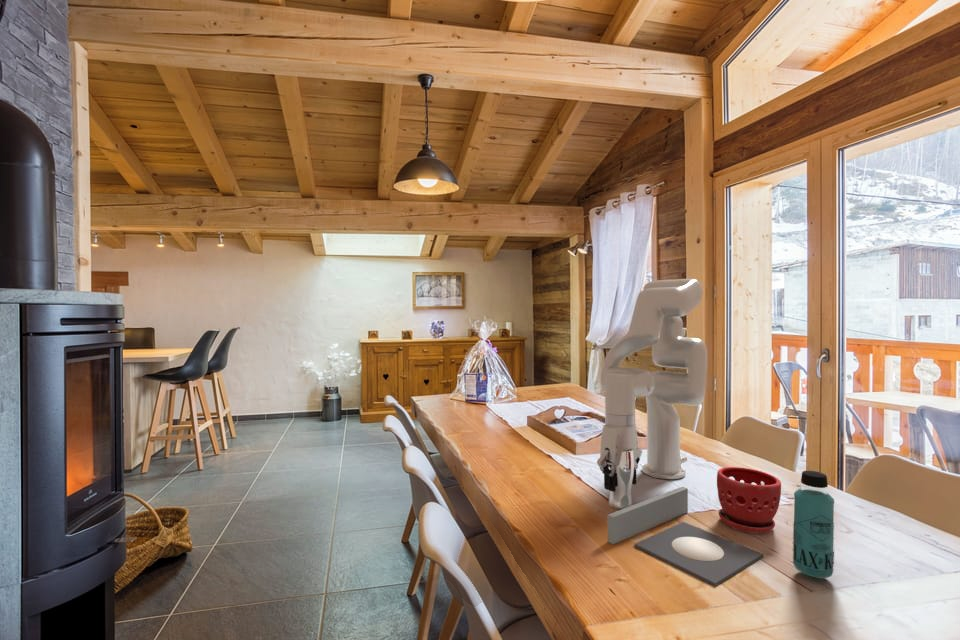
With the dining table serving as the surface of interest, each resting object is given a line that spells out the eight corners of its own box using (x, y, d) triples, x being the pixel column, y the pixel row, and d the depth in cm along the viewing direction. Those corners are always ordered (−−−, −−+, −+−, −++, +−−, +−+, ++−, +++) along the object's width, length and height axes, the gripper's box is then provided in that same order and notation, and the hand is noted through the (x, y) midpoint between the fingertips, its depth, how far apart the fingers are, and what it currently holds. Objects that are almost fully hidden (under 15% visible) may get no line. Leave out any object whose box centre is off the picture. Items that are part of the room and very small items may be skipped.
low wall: (682, 510, 120) (682, 486, 120) (687, 512, 119) (687, 488, 119) (607, 541, 105) (607, 514, 104) (613, 544, 103) (613, 517, 103)
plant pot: (758, 543, 103) (758, 489, 102) (705, 520, 114) (704, 471, 114) (793, 530, 109) (793, 478, 109) (739, 509, 120) (739, 462, 120)
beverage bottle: (784, 568, 93) (784, 467, 92) (816, 566, 94) (816, 466, 93) (810, 588, 86) (810, 479, 86) (844, 585, 87) (844, 478, 87)
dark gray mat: (683, 524, 112) (683, 521, 112) (763, 556, 97) (763, 553, 97) (634, 546, 102) (634, 543, 102) (715, 586, 87) (715, 582, 87)
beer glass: (636, 511, 120) (635, 452, 119) (607, 509, 121) (607, 451, 121) (632, 500, 127) (632, 444, 126) (606, 498, 128) (605, 443, 128)
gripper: (629, 412, 131) (630, 475, 132) (585, 421, 122) (586, 489, 122) (653, 417, 125) (653, 483, 126) (608, 427, 115) (609, 499, 116)
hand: (620, 486), depth 124 cm, fingers open, 7 cm apart
